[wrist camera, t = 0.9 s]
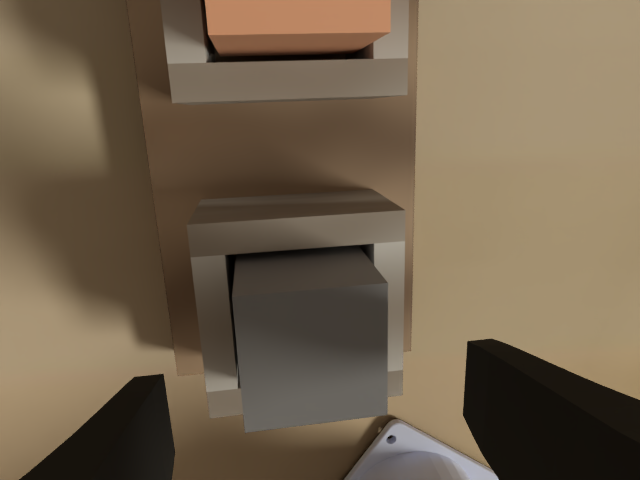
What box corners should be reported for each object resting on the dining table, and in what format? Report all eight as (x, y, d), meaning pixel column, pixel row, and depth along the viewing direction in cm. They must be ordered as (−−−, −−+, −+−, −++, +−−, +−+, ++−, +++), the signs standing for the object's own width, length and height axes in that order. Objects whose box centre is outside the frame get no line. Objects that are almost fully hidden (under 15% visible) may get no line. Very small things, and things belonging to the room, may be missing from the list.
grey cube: (356, 346, 17) (387, 414, 13) (246, 357, 16) (244, 432, 13) (355, 241, 16) (388, 283, 12) (236, 250, 15) (232, 296, 11)
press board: (397, 330, 22) (448, 406, 16) (184, 352, 21) (159, 442, 15) (402, -106, 17) (477, -213, 11) (123, -112, 16) (52, -238, 10)
